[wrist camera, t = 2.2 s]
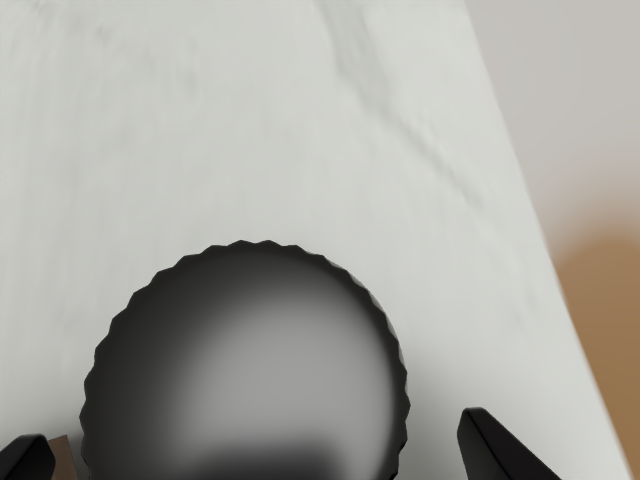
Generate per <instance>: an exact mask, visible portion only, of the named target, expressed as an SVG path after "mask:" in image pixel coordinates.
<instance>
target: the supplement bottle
mask: <svg viewBox="0 0 640 480" xmlns="http://www.w3.org/2000/svg"><path fill="white" fill-rule="evenodd" d="M94 359H95V362H94V366H93V368H92V370H91V371H90V372H89V373H88V375H87V377H86V379H85V381H84V390H85V396H86V401H85V404H84V405H83V407H82V410H81V413H80V416H79V419H80V423H81V426H82V429H83V431H84V438H83V442H82V447H81V455H82V457H83V459H84V461H85V463H86V464H87V466H88V467H89V470H90V475H89V480H393V479H394V478H395V477H396V475H397V474H398V466H399V453H400V451H401V450H402V449H403V447H404V446H405V444H406V442H407V440H408V438H407V429H406V424H405V420H406V418H407V415H408V413H409V409H410V406H411V405H410V401H409V398H408V396H407V371H406V369H405V363H404V359H403V354H402V350H401V347H400V344H399V341H398V338H397V336H396V333H395V331H394V329H393V326H392V324H391V322H390V320H389V319H388V317H387V315H386V313H385V312H384V310H383V309H382V307H381V306H380V304H379V303H378V301H377V300H376V299H375V297H374V296H373V295H372V294H371V293H370V291H369V290H368V289H367V288H366V287H365V286H364V285H363V284H362V283H361V282H360V281H359V280H357V279H356V278H355V277H354V276H353V275H352V274H350V273H349V272H348V271H347V270H345V269H343V268H342V267H340V266H339V265H337V264H335V263H333V262H331V261H330V260H328V259H326V258H325V257H324V256H323V255H318V254H313V253H310V252H307V251H304V250H303V249H302V248H300V247H299V246H297V245H288V246H281V245H279V244H277V243H275V242H273V241H270V240H266V241H262V242H259V243H255V244H254V243H251V242H248V241H243V240H239V241H237V242H234V243H232V244H230V245H228V246H220V245H212V246H210V247H208V248H207V249H205V250H204V251H203V252H202V253H200V254H194V255H187V256H184V257H182V258H181V259H180V260H179V261H178V262H177V264H176V265H175V266H174V267H171V268H168V269H164V270H162V271H159V272H157V274H156V275H155V276H154V277H153V279H152V281H151V282H150V284H149V285H147V286H145V287H143V288H141V289H139V290H138V291H136V292H134V293H133V295H132V297H131V299H130V301H129V303H128V305H127V308H125V309H124V310H123V311H121V312H120V313H119V314H117V315H116V316H115V317H114V318H113V319H112V322H111V325H110V330H109V333H108V335H107V336H106V337H105V338H104V339H103V340H102V341H101V342H100V344H99V345H98V346H97V347H96V349H95V355H94Z"/></svg>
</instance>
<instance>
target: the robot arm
mask: <svg viewBox="0 0 640 480" xmlns="http://www.w3.org/2000/svg"><path fill="white" fill-rule="evenodd" d="M457 439H458V444H459V447H460V451H461V454H462V458H463V462H464V465H465V469H466V472H467V476H468V479H469V480H561V479H560V478H559V477H558V476H557V475H556V474H555V473H554V472H553V471H552V470H551V469H550V468H548V467H547V466H546V465H545V464H544V463H543V462H542V461H541V460H540V459H539V458H538V457H536V456H535V455H534V454H533V453H532V452H531V451H530V450H529V449H528V448H527V447H526V446H525V445H523V444H522V443H521V442H520V441H519V440H518V439H517V438H516V437H515V436H514V435H513V434H511V433H510V432H509V431H508V430H507V429H506V428H505V427H504V426H503V425H502V424H501V423H499V422H498V421H497V420H496V419H495V418H494V417H493V416H492V415H491V414H490V413H489V412H488V411H486V410H485V409H483V408H481V407H473V408H465V409H464V410H463V412H462V415H461V419H460V423H459V426H458V430H457ZM55 466H56V457H55V455H54V453H53V451H52V449H51V447H50V445H49V443H48V441H47V439H46V437H45V436H44V435H42V434H27V435H22V436H19V437H18V438H16V439H15V440H13V441H12V442H11V443H10V444H9V445H7V446H6V447H5V448H4V449H3V450H1V451H0V480H51V479H52V476H53V473H54V470H55Z"/></svg>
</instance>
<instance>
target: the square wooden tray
mask: <svg viewBox="0 0 640 480" xmlns="http://www.w3.org/2000/svg"><path fill="white" fill-rule="evenodd" d="M48 443H49V445H50V447H51V449H52V451H53V453H54V455H55V457H56V466H55V470H54V473H53V476H52V479H51V480H78V477H77V473H76V469H75V466H74V462H73V458H72V454H71V450H70V446H69V442H68V438H67V435H64V436H61V437H58V438H55V439H52V440H49V441H48Z"/></svg>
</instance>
